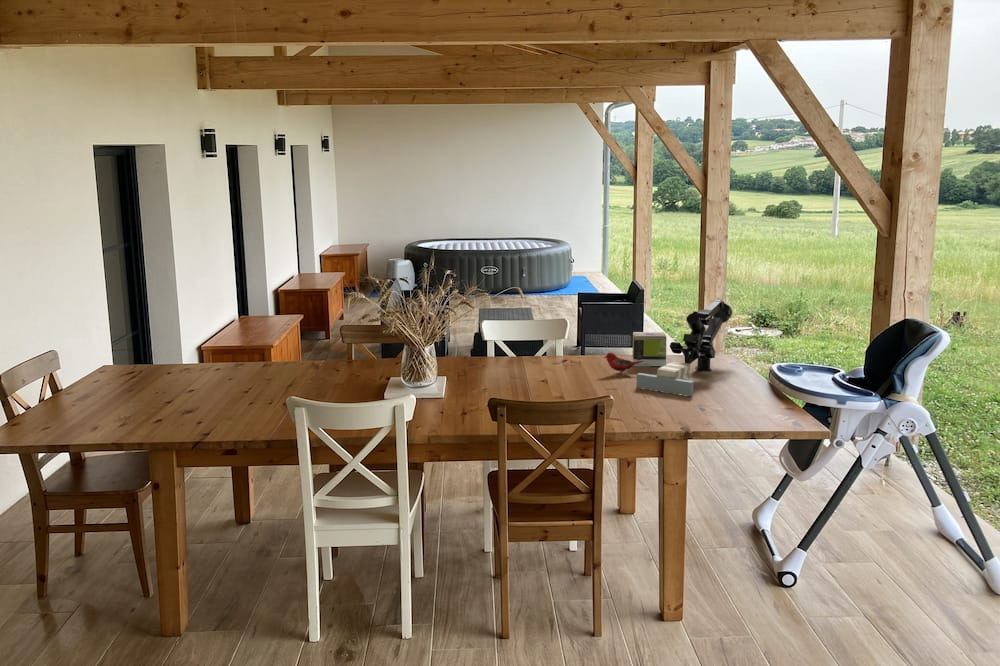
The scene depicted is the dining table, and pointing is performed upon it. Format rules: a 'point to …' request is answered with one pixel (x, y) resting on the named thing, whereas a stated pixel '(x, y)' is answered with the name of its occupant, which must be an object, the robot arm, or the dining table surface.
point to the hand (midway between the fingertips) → (685, 366)
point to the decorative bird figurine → (619, 363)
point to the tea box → (649, 348)
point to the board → (665, 384)
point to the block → (675, 370)
